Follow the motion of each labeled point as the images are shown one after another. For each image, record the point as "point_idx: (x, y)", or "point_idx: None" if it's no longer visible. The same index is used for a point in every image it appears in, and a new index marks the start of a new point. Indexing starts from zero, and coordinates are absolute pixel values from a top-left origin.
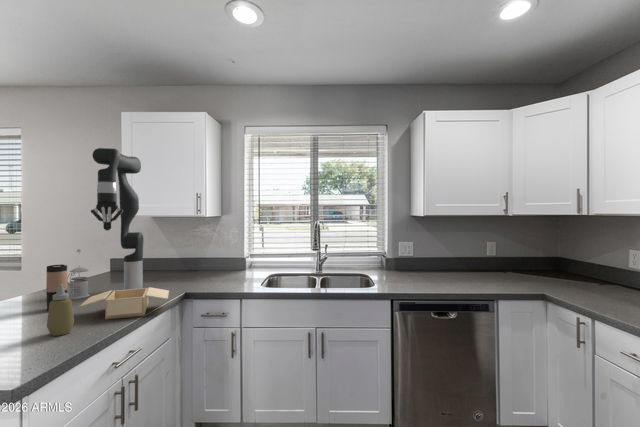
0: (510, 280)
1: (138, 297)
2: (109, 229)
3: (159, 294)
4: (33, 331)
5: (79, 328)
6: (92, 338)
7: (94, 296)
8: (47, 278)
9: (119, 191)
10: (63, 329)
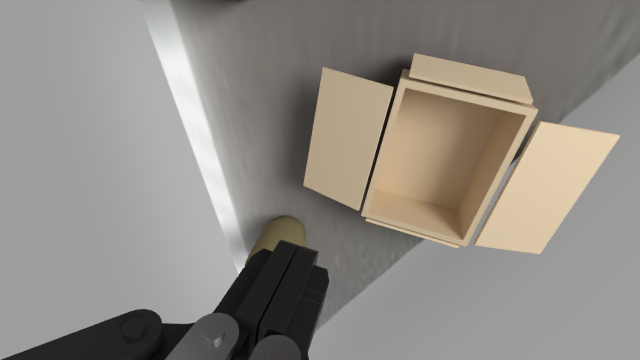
0: None
1: (450, 241)
2: (315, 263)
3: (532, 218)
4: (241, 183)
5: (318, 219)
6: (341, 286)
7: (336, 97)
8: None
9: None
10: None
